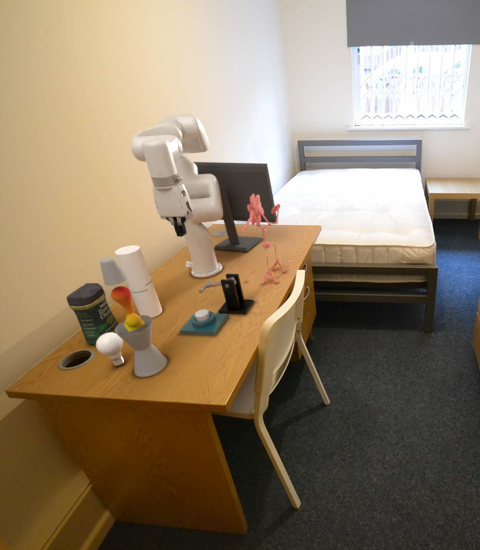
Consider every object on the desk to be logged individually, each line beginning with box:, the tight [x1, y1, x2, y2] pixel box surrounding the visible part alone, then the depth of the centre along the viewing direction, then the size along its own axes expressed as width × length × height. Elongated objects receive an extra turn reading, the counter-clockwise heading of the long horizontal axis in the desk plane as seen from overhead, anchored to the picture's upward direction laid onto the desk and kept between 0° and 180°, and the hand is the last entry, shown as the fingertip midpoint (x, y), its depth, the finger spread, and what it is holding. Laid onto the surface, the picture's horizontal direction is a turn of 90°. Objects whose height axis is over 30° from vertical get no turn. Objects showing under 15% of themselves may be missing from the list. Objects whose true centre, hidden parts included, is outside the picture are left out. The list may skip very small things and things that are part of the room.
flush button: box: [194, 308, 210, 322], centre depth 121 cm, size 4×4×2 cm
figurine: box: [241, 194, 286, 285], centre depth 144 cm, size 15×26×35 cm, turn 171°
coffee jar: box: [66, 282, 119, 346], centre depth 115 cm, size 10×8×19 cm
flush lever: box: [198, 277, 237, 294], centre depth 128 cm, size 12×7×2 cm, turn 85°
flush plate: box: [179, 310, 229, 336], centre depth 122 cm, size 12×10×4 cm
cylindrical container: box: [114, 244, 163, 319], centre depth 125 cm, size 7×7×25 cm
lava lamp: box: [99, 256, 168, 378], centre depth 98 cm, size 9×9×35 cm
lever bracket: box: [217, 273, 255, 316], centre depth 129 cm, size 10×8×13 cm
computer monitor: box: [193, 161, 279, 253], centre depth 172 cm, size 44×16×40 cm, turn 77°
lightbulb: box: [95, 332, 125, 367], centre depth 105 cm, size 6×6×11 cm
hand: (182, 235), depth 123 cm, fingers closed
